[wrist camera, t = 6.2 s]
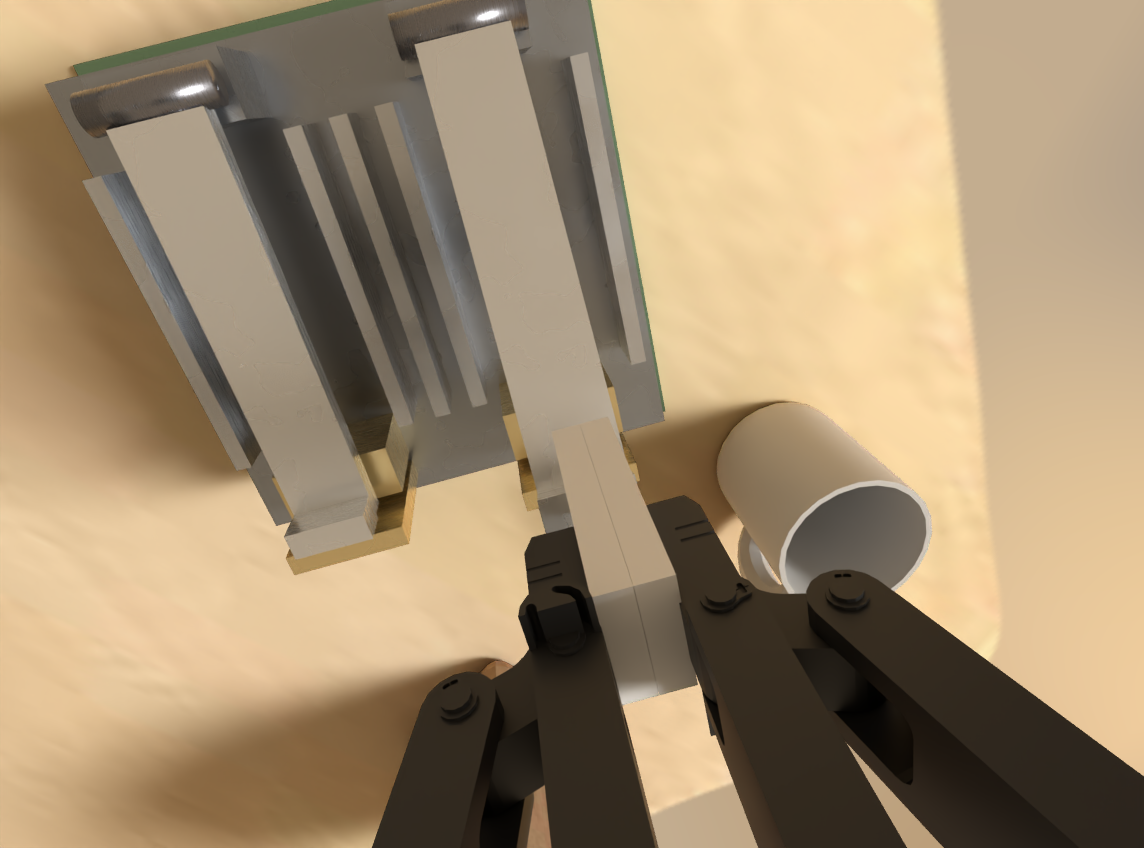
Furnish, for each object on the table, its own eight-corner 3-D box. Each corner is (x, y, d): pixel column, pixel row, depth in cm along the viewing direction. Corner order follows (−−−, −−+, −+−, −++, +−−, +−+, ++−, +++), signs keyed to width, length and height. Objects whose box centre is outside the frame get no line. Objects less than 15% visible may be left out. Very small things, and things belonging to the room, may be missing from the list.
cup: (857, 418, 38) (962, 502, 30) (776, 558, 41) (850, 667, 33) (748, 382, 36) (829, 462, 28) (673, 533, 39) (725, 642, 31)
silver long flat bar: (530, 521, 21) (529, 539, 19) (394, 27, 20) (373, -21, 17) (647, 489, 21) (661, 503, 19) (518, -4, 20) (515, -56, 17)
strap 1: (298, 526, 26) (281, 563, 24) (85, 93, 19) (37, 89, 17) (394, 500, 26) (386, 535, 24) (215, 61, 19) (183, 53, 17)
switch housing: (297, 507, 35) (239, 648, 26) (77, 65, 26) (-136, 44, 17) (663, 408, 36) (731, 513, 27) (578, -60, 26) (638, -146, 17)
